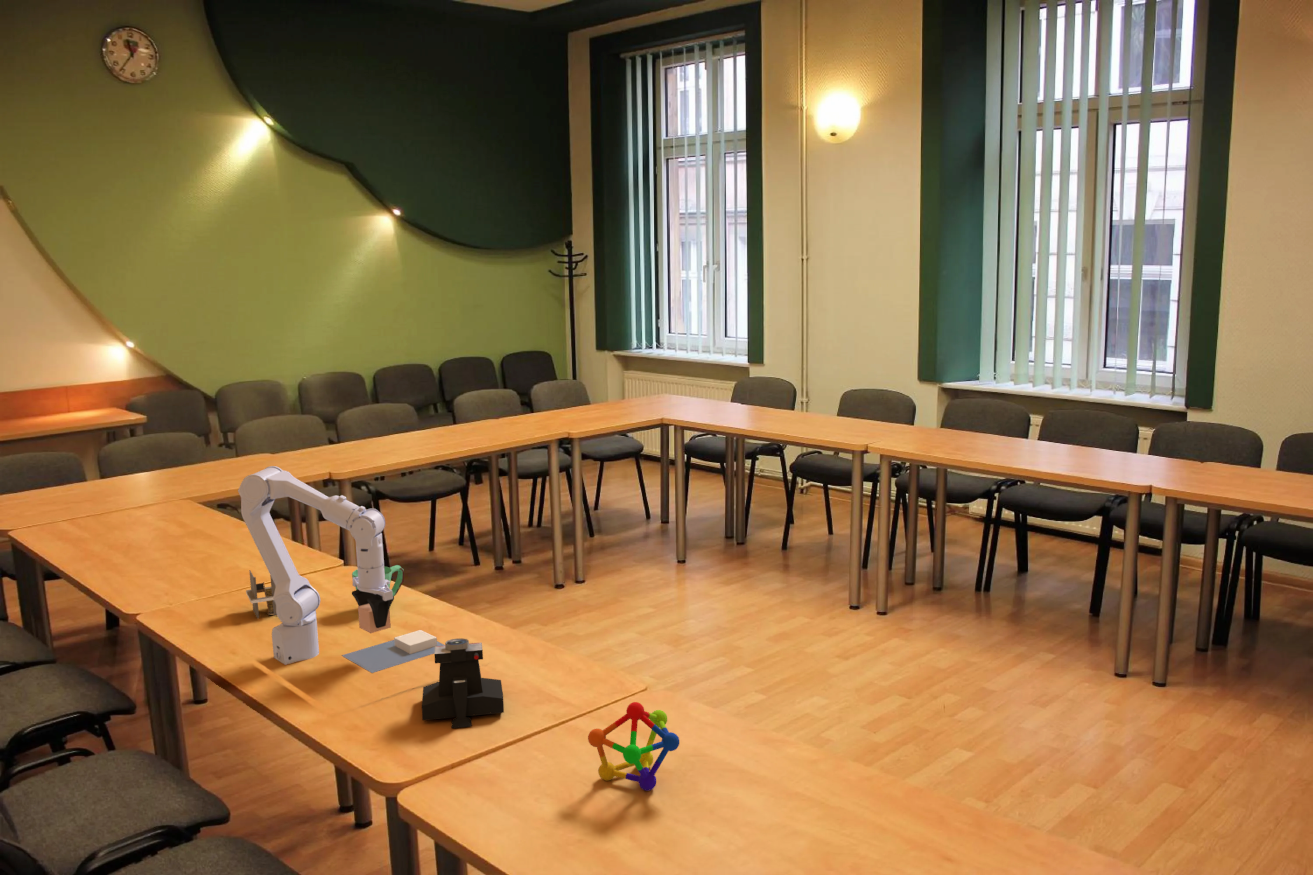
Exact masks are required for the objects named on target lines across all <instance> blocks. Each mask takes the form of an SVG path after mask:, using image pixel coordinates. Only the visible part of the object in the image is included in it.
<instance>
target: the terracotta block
mask: <svg viewBox="0 0 1313 875" xmlns="http://www.w3.org/2000/svg"><path fill="white" fill-rule="evenodd" d="M390 608H391V607H390ZM390 608H389V612H388V616H387V622H386V626H384V627H380V628H376V626H375V622H374V617H373V612H372V609H371V607H370V604H365V605H361V606H357V611H358V612H357V613H358V623H359V625H358V626H359V629H362V630H363V631H365V632H366V633H368V634H374V633H376V632H380V631H383V630H386V629H387V630H388V629H390V628H391V626H392V625H391V609H390Z"/></svg>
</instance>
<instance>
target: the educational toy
mask: <svg viewBox="0 0 1313 875" xmlns="http://www.w3.org/2000/svg"><path fill="white" fill-rule="evenodd" d="M625 712H626V713H625V714H624V715H623V716H621V717H620V718H618V719H616V720H615V721H614V722H612V723H611V724H609V725H608V726H607V727H605V728H604V729H601V728H594V729H591V730H590V731H589V734H588V735H587V740H588V741H587V742H588V743H589V745H590V746H592V747H593V748H596V749H597V753H598V756H599V758H600V762H601V764H600V765H599V767H598V771H597V772H598V776H599V778H600V779H602V780H603V781H606V782H607V781H611V780H613V779H614V778H615V777H617V778H621V779H624V780H628V781H632V782H637V783H638V785H639V787H640V788H641V790H643V791H647V792H648V791H651V790H653V789H654V788H655V787H656V785H657V776H656V773H657V772H658V770H659V768H660V767H661V765H662V763H663V762H664V760H665V758H666V756H667V754H668V753H669V752H674V751H676V750H677V749H678V747H680V737H679V736H678V735H677V734H676V733H674V732H673V731H672V732H670V731H669V730H668V728H667V726H666V724H667V723H668V715H667V713H666V712H665V711H663V710H662V709H655V710H654V711H652V713H651V712H648V711H646V710H645V707H644V705H643V704H641V702H638V701H633V702H631V703H629V704H628V705H627V707H626V711H625ZM629 720H631V724H630V726H631V727H630V738H629V739H630V740H629V744H628V745H627V746H623V745H621V744H619V743H616V742H614V741H613V740H610V739H608V738H607V735H609V734H610V733H611V732H613V731H614V730H616V729H618V728H619V727H620V726H621V725H623V724H624V723H626V722H628V721H629ZM639 720H640V721H642V722H643V723H644V724H645V725H646V726H647V727H648V728H649V729H651V732H650V734H649V737H648V740H647V742H646V745H645V746H643V747H639V746H638V745H637V735H638V734H637V733H638V722H639ZM656 736H658V737H660V739H661V741H659V742H655V740H656ZM604 746H606V747H608V748H611V749H613V750H615V751H617V752H618V753H619V752H620V753H621V754H622V757H623V759H624V761H625V762H621V763H619V764H615V765H614V763H612V762H610V761H608V759H607V756H606V752H605V750H604ZM659 749H660V750H661V751H660V753H659V755H658V757H657V758H656V760H655V762H654V755H653V753H652V752H653V751H657V750H659ZM653 762H654V763H653ZM652 764H653V765H652ZM633 766H635V768H636V769H637V772H638V773H639V775H637V774H632V773H630V772H625V771H623V770H625V769H627V768H631V767H633ZM651 766H652V767H651ZM650 767H651V768H650ZM621 770H622V771H621Z"/></svg>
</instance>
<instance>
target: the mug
mask: <svg viewBox="0 0 1313 875" xmlns="http://www.w3.org/2000/svg"><path fill="white" fill-rule="evenodd" d="M395 572H397V577H396V580H395V581H394V584H393V586H392V587H391V581H392V575H393V574H394V573H395ZM384 573H385V579H387V580H389V581H390V584H388V587H389V589H390V590H392V592H393V596H394V597H395V596H396V595H397V594H398V592H399V590H400V589H401V587H402V586H403V584H404V582H405V570H404V568H402V566H401V565H398V564H396V565H393V566H390V567H388V566H385V565H384ZM351 577H352V578H354V577H358V568H356V569H355V570H354V571H352V573H351ZM390 587H391V588H390ZM357 589H358V588H357V587H355V590H357Z"/></svg>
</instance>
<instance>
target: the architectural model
mask: <svg viewBox="0 0 1313 875" xmlns="http://www.w3.org/2000/svg"><path fill="white" fill-rule="evenodd" d="M248 572H249V581H250V582H249V584H250V589H247V590H245V593H246V594H245V595H246V596H247V598H248V600H249V602H250V603H251V604H252V611H253V614H254V613H255V614H254V615H256V616H255V618H256V617H257V618H256V619H260V612H259V603H262V602H266V607H267V614H268V615H273V616H277V613H276V603H275V601H274V599H273V596H274V592H275V588H276V586H275V583H274V581H273V579H272V577H271V575H270V574H269V576H270V586H265V581H262V582H261V583H257V580H256V579H257V578H256V576H254V575H253V573H252V571H251V570H249V571H248ZM259 593H264V596H262V597H258V594H259Z"/></svg>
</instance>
